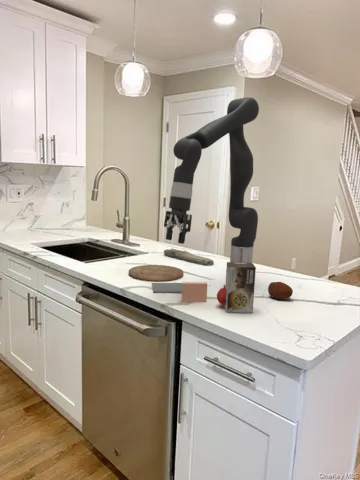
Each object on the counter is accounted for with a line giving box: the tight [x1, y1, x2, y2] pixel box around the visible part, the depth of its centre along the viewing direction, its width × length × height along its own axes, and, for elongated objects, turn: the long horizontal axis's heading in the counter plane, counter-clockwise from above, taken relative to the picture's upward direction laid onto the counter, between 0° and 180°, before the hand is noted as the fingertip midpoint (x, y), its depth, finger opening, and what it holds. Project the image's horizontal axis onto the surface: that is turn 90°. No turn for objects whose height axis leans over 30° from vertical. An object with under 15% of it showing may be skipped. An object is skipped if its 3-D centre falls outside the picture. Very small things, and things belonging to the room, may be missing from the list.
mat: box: [151, 282, 182, 294], centre depth 154 cm, size 18×12×1 cm, turn 98°
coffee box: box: [224, 261, 257, 314], centre depth 131 cm, size 9×6×16 cm
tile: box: [180, 281, 208, 303], centre depth 139 cm, size 9×2×7 cm, turn 98°
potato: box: [267, 281, 294, 301], centre depth 147 cm, size 7×9×6 cm
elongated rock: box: [163, 248, 215, 266], centre depth 209 cm, size 35×5×10 cm
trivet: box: [128, 264, 184, 283], centre depth 175 cm, size 25×25×2 cm
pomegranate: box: [216, 284, 226, 308], centre depth 134 cm, size 6×6×8 cm
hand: (174, 241), depth 137 cm, fingers open, 8 cm apart
